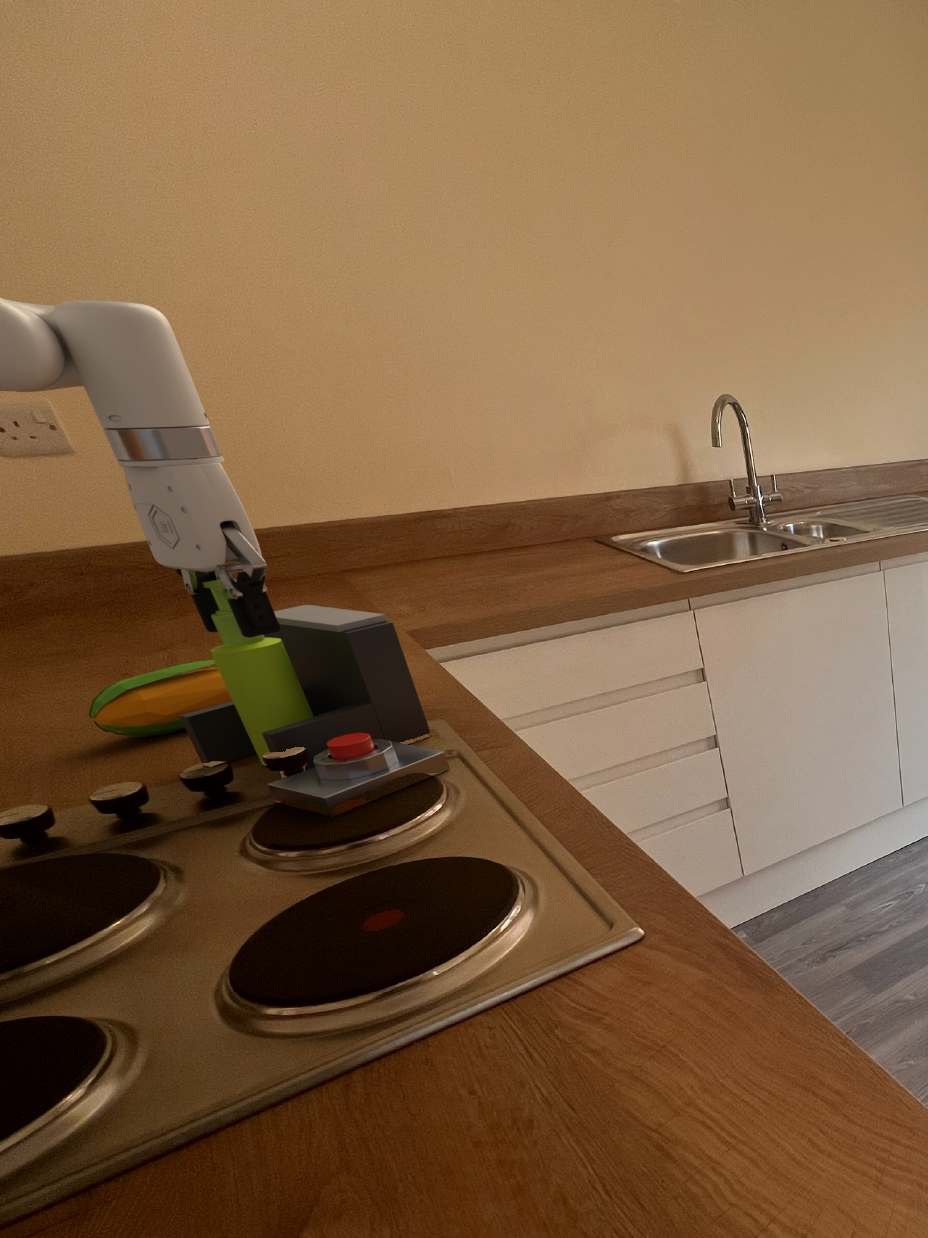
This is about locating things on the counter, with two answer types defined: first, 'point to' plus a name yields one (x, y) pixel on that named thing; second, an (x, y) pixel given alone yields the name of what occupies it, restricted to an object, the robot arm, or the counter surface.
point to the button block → (357, 773)
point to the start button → (350, 746)
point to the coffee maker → (326, 687)
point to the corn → (158, 700)
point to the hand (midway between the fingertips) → (243, 629)
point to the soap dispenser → (256, 675)
